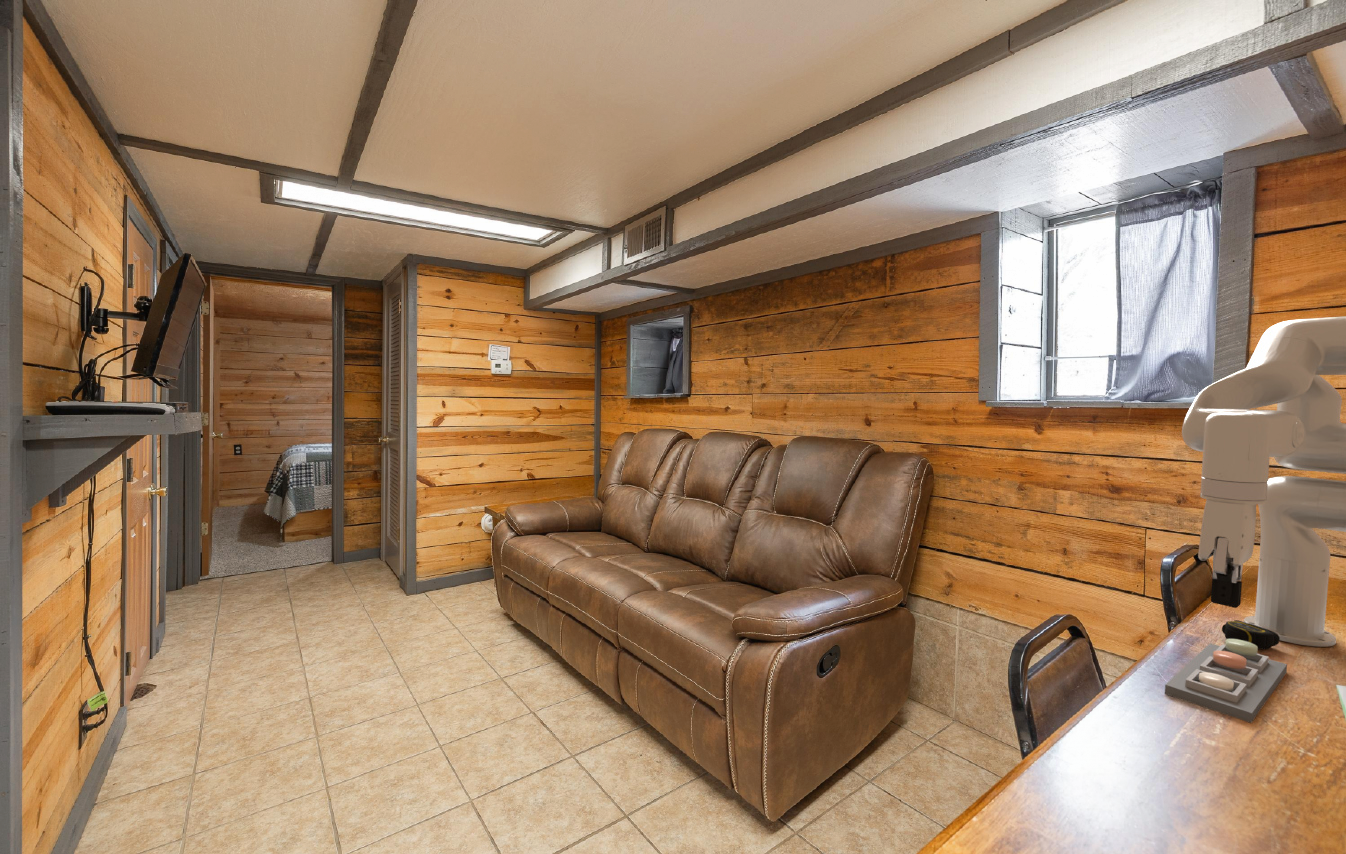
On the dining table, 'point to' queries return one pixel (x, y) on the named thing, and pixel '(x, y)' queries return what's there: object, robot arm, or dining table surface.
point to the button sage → (1241, 647)
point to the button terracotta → (1229, 659)
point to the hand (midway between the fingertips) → (1225, 603)
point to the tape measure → (1250, 634)
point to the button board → (1247, 688)
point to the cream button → (1216, 681)
